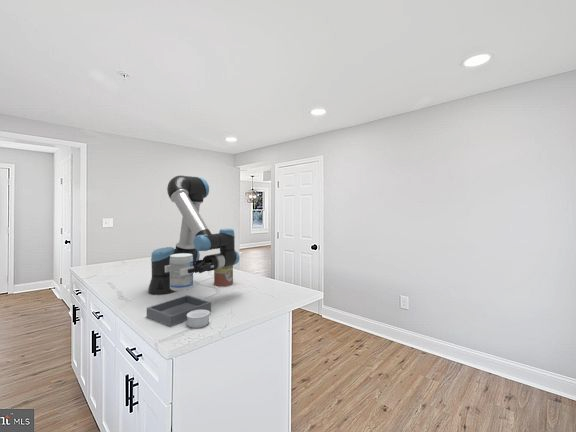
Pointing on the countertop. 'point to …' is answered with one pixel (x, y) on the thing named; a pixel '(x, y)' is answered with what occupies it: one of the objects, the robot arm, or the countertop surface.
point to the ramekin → (198, 318)
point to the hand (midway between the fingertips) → (172, 270)
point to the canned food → (223, 276)
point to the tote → (176, 309)
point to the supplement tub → (175, 265)
